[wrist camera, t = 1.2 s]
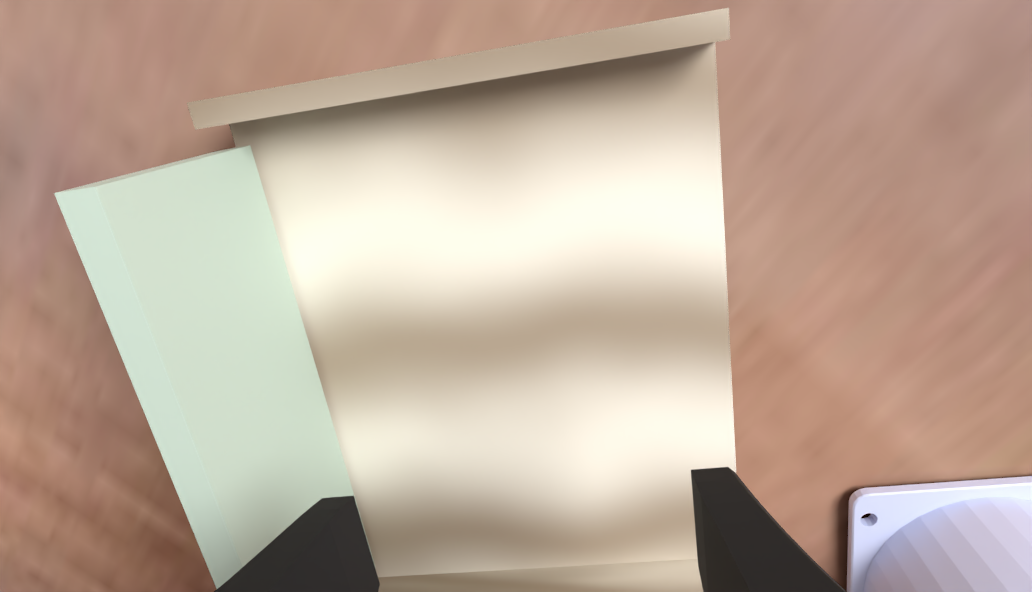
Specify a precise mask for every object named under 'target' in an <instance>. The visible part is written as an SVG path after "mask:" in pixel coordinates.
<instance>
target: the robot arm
mask: <svg viewBox="0 0 1032 592" xmlns="http://www.w3.org/2000/svg"><path fill="white" fill-rule="evenodd" d="M691 480H692V493H693V506H694V519H695V532H696V545H697V557H698V568H699V573H700V578H701V583H702V588H703V592H846V591H845V590H844V589H843V588H842V587H841V586H840V585H839V584H838V583H837V582H836V581H834V580H833V579H832V578H831V577H830V576H829V575H828V574H827V573H826V572H825V571H824V570H823V569H822V568H821V567H820V566H819V565H818V564H817V563H816V562H815V561H814V560H813V559H812V558H811V557H810V556H809V555H808V554H807V553H806V552H805V551H804V550H803V549H802V548H801V547H800V546H799V545H798V544H797V543H796V542H795V541H794V540H793V539H792V538H791V537H790V536H789V535H788V534H787V533H786V532H785V530H784V529H783V528H782V527H781V526H780V525H779V524H778V523H777V522H776V521H775V520H774V518H773V517H772V516H771V515H770V514H769V513H768V512H767V511H766V509H765V508H764V507H763V506H762V505H761V504H760V503H759V501H758V500H757V499H756V498H755V497H754V495H753V494H752V493H751V492H750V491H749V489H748V488H747V487H746V486H745V484H744V483H743V482H742V481H741V479H740V478H739V477H738V475H737V474H736V473H735V472H734V471H733V470H732V469H730V468H729V467H719V468H706V469H693V470H691ZM868 513H871V515H870V516H869V517H866V518H861V517H862V516H863V515H865V514H868ZM379 586H380V582H379V579H378V576H377V572H376V569H375V566H374V562H373V559H372V555H371V552H370V549H369V545H368V542H367V539H366V535H365V532H364V529H363V525H362V522H361V518H360V515H359V512H358V508H357V505H356V502H355V498H354V496H343V497H330V498H322V499H321V500H319V501H318V502H317V503H315V504H314V505H313V506H312V507H310V508H309V509H308V510H307V511H306V512H305V513H303V514H302V515H301V516H300V517H299V518H298V519H296V520H295V521H294V522H293V523H292V524H291V525H290V526H289V527H287V528H286V529H285V530H284V531H283V532H282V533H281V534H280V535H278V536H277V537H276V538H275V539H274V540H273V541H272V542H271V543H270V544H268V545H267V546H266V547H265V548H264V549H263V550H262V551H260V552H259V553H258V554H257V555H256V556H255V557H254V558H253V559H251V560H250V561H249V562H248V563H247V564H246V565H245V566H243V567H242V568H241V569H240V570H239V571H238V572H237V573H236V574H234V575H233V576H232V577H231V578H230V579H229V580H228V581H226V582H225V583H224V584H223V585H222V586H220V587H219V588H218V589H217V590H215V591H214V592H378V590H379ZM847 592H1032V476H1026V477H1011V478H997V479H983V480H969V481H955V482H941V483H926V484H912V485H898V486H884V487H870V488H862V489H859V490H857V491H855V492H854V493H853V494H852V495H851V496H850V499H849V515H848V558H847Z"/></svg>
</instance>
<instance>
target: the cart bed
mask: <svg viewBox="0 0 1032 592" xmlns="http://www.w3.org/2000/svg"><path fill="white" fill-rule="evenodd" d="M724 40H730V24H729V8H725V9H719V10H713V11H708V12H702V13H696V14H691V15H685V16H679V17H673V18H668V19H662V20H656V21H651V22H645V23H639V24H634V25H628V26H622V27H616V28H611V29H605V30H599V31H594V32H588V33H582V34H576V35H571V36H565V37H559V38H554V39H548V40H542V41H537V42H531V43H525V44H519V45H514V46H508V47H502V48H497V49H491V50H485V51H480V52H474V53H468V54H462V55H457V56H451V57H445V58H440V59H434V60H428V61H422V62H417V63H411V64H405V65H400V66H394V67H388V68H383V69H377V70H371V71H365V72H360V73H354V74H348V75H343V76H337V77H331V78H325V79H320V80H314V81H308V82H303V83H297V84H291V85H286V86H280V87H274V88H268V89H263V90H257V91H251V92H246V93H240V94H234V95H228V96H223V97H217V98H211V99H206V100H200V101H194V102H189V103H187V105H188V108H189V111H190V114H191V117H192V121H193V124H194V127H195V130H196V129H202V128H208V127H214V126H220V125H226V124H229V126H230V129H231V132H232V136H233V139H234V142H235V145H236V147H243V146H249V145H250V146H251V149H252V153H253V156H254V159H255V163H256V166H257V169H258V173H259V176H260V180H261V183H262V186H263V190H264V193H265V196H266V200H267V203H268V207H269V210H270V213H271V217H272V220H273V223H274V227H275V230H276V234H277V237H278V240H279V244H280V247H281V250H282V254H283V257H284V260H285V264H286V267H287V271H288V274H289V277H290V281H291V284H292V287H293V291H294V294H295V298H296V301H297V304H298V308H299V311H300V314H301V318H302V321H303V324H304V328H305V331H306V335H307V338H308V341H309V345H310V348H311V351H312V355H313V358H314V362H315V365H316V368H317V372H318V375H319V378H320V382H321V385H322V389H323V392H324V395H325V399H326V402H327V405H328V409H329V412H330V415H331V419H332V422H333V426H334V429H335V432H336V436H337V439H338V442H339V446H340V449H341V453H342V456H343V459H344V463H345V466H346V469H347V473H348V476H349V480H350V483H351V486H352V490H353V493H354V496H355V500H356V503H357V506H358V510H359V513H360V517H361V520H362V523H363V527H364V530H365V533H366V537H367V540H368V544H369V547H370V550H371V554H372V557H373V560H374V564H375V567H376V568H375V569H376V572H377V576H378V579H379V582H380V586H379V590H378V592H703V588H702V583H701V578H700V573H699V568H698V557H697V545H696V532H695V519H694V506H693V493H692V480H691V470H693V469H706V468H719V467H729V468H730V469H732V470H733V471H734V472H735V473H736V459H735V438H734V418H733V397H732V377H731V356H730V336H729V315H728V295H727V274H726V254H725V233H724V213H723V192H722V172H721V151H720V131H719V110H718V90H717V69H716V49H715V42H718V41H724Z"/></svg>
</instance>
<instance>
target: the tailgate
mask: <svg viewBox="0 0 1032 592" xmlns="http://www.w3.org/2000/svg"><path fill="white" fill-rule="evenodd" d="M54 194H55V196H56V199H57V201H58V204H59V206H60V209H61V211H62V213H63V216H64V218H65V221H66V223H67V226H68V228H69V230H70V233H71V235H72V238H73V240H74V243H75V245H76V248H77V250H78V252H79V255H80V257H81V260H82V262H83V265H84V267H85V269H86V272H87V274H88V277H89V279H90V282H91V284H92V286H93V289H94V291H95V294H96V296H97V299H98V301H99V304H100V306H101V308H102V311H103V313H104V316H105V318H106V321H107V323H108V325H109V328H110V330H111V333H112V335H113V338H114V340H115V343H116V345H117V347H118V350H119V352H120V355H121V357H122V360H123V362H124V364H125V367H126V369H127V372H128V374H129V377H130V379H131V381H132V384H133V386H134V389H135V391H136V394H137V396H138V399H139V401H140V403H141V406H142V408H143V411H144V413H145V416H146V418H147V420H148V423H149V425H150V428H151V430H152V433H153V435H154V437H155V440H156V442H157V445H158V447H159V450H160V452H161V455H162V457H163V459H164V462H165V464H166V467H167V469H168V472H169V474H170V476H171V479H172V481H173V484H174V486H175V489H176V491H177V493H178V496H179V498H180V501H181V503H182V506H183V508H184V511H185V513H186V515H187V518H188V520H189V523H190V525H191V528H192V530H193V532H194V535H195V537H196V540H197V542H198V545H199V547H200V550H201V552H202V554H203V557H204V559H205V562H206V564H207V567H208V569H209V571H210V574H211V576H212V579H213V581H214V584H215V586H216V588H217V589H218V588H219V587H220V586H222V585H223V584H224V583H225V582H226V581H228V580H229V579H230V578H231V577H232V576H233V575H234V574H236V573H237V572H238V571H239V570H240V569H241V568H242V567H243V566H245V565H246V564H247V563H248V562H249V561H250V560H251V559H253V558H254V557H255V556H256V555H257V554H258V553H259V552H260V551H262V550H263V549H264V548H265V547H266V546H267V545H268V544H270V543H271V542H272V541H273V540H274V539H275V538H276V537H277V536H278V535H280V534H281V533H282V532H283V531H284V530H285V529H286V528H287V527H289V526H290V525H291V524H292V523H293V522H294V521H295V520H296V519H298V518H299V517H300V516H301V515H302V514H303V513H305V512H306V511H307V510H308V509H309V508H310V507H312V506H313V505H314V504H315V503H317V502H318V501H319V500H321V499H322V498H330V497H343V496H354V493H353V490H352V486H351V483H350V480H349V476H348V473H347V469H346V466H345V463H344V459H343V456H342V453H341V449H340V446H339V442H338V439H337V436H336V432H335V429H334V426H333V422H332V419H331V415H330V412H329V409H328V405H327V402H326V399H325V395H324V392H323V389H322V385H321V382H320V378H319V375H318V372H317V368H316V365H315V362H314V358H313V355H312V351H311V348H310V345H309V341H308V338H307V335H306V331H305V328H304V324H303V321H302V318H301V314H300V311H299V308H298V304H297V301H296V298H295V294H294V291H293V287H292V284H291V281H290V277H289V274H288V271H287V267H286V264H285V260H284V257H283V254H282V250H281V247H280V244H279V240H278V237H277V234H276V230H275V227H274V223H273V220H272V217H271V213H270V210H269V207H268V203H267V200H266V196H265V193H264V190H263V186H262V183H261V180H260V176H259V173H258V169H257V166H256V163H255V159H254V156H253V153H252V149H251V146H250V145H249V146H243V147H236V148H230V149H224V150H219V151H215V152H211V153H208V154H204V155H200V156H196V157H192V158H188V159H184V160H181V161H177V162H173V163H169V164H165V165H161V166H157V167H153V168H150V169H146V170H142V171H138V172H134V173H130V174H126V175H123V176H119V177H115V178H111V179H107V180H103V181H99V182H96V183H92V184H88V185H84V186H80V187H76V188H72V189H68V190H65V191H61V192H57V193H54ZM354 498H355V496H354ZM355 502H356V500H355ZM356 505H357V503H356ZM357 508H358V506H357ZM358 512H359V510H358ZM359 515H360V513H359ZM360 518H361V517H360ZM361 522H362V520H361ZM362 525H363V523H362ZM363 529H364V527H363ZM364 532H365V530H364ZM365 535H366V533H365ZM366 539H367V537H366ZM367 542H368V540H367ZM368 545H369V544H368ZM369 549H370V547H369ZM370 552H371V550H370ZM371 555H372V554H371ZM372 559H373V557H372ZM373 562H374V560H373ZM374 566H375V564H374ZM375 568H376V567H375Z"/></svg>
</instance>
